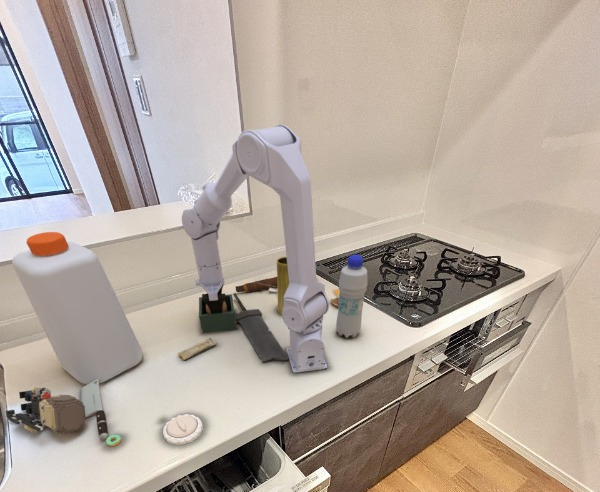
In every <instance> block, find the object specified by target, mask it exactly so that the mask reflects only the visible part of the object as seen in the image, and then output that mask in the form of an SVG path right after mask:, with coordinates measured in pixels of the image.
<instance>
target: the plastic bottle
mask: <svg viewBox="0 0 600 492" xmlns="http://www.w3.org/2000/svg"><path fill="white" fill-rule="evenodd" d="M25 243H26V245H27V247H28V249H29V250H26V251H23V252H19V253H18V254H16V255H14V257H13V258H12V260H11V264H12V267H13V270H14V271H15V273H16V275H17V277H18V279H19V281H20V284H21V286H22V288H23V290H24V293H25V295H26V296H27V298H28V300H29V302H30V304H31V306H32V308H33V311H34V313H35V315H36V317H37V318H38V321H39V323H40V325H41V327H42V329H43V331H44V333H45V335H46V338H47V339H48V341H49V344H50V345H51V348H52V350H53V352H54V354H55V356H56V358H57V360H58V362H59V364H60V366H61V368H62V369H63V370H65V371H66V372H67V373H68V374H69V375H70V376H72V377H73V378H74V379H75V380H76V381H78V382H79V383H81V384H83V385H88V384H89V383H91V382H93V381H94V380H96V379H98V381H99V384H102V383H105V382H106V381H109V380H110V379H112V378H115V377H116V376H118V375H120V374H122V373H124V372H125V371H128V370H130V369H131V368H133V367H135V366H137V365H138V364H139V363H140V362H141V361H142V359H143V357H144V352H143V349H142V346H141V345H140V342H139V341H138V339H137V337H136V334H135V332H134V330H133V328H132V326H131V324H130V322H129V319H128V317H127V315H126V313H125V311H124V309H123V308H122V307H123V306H122V305H121V303H120V301H119V299H118V296H117V294H116V292H115V290H114V288H113V285H112V284H111V282H110V280H109V278H108V276H107V274H106V271H105V269H104V267H103V265H102V263H101V261H100V259H99V257H98V255H97V254H96V253H95V252H94V251H92V249H89V248H88V247H87V248H86V247H85V246H83V245H80V244H79V243H76V242H73V241H67V239H66V237H65V235H64V234H62V233H61V232H57V231H47V232H40V233H36V234H33V235H30V236H29V237H28V238H27V239H26V242H25Z"/></svg>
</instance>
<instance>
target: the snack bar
mask: <svg viewBox="0 0 600 492" xmlns="http://www.w3.org/2000/svg"><path fill="white" fill-rule="evenodd" d="M217 344H218V342H217V341H215V340H213V339H212V337H209V338H208V339H205V340H203V341H200V342H198V343H196V344H195V345H192V346H190V347H188V348H186V349H184V350H182V351H179V352H177V355H178V356H179V357H180V358H181V360H183V361H184V360H188V359H190V358H192V357H193V356H195V355H197V354H199V353H201V352H203V351H205V350H206V349H209V348H211V347H214V346H216V345H217Z"/></svg>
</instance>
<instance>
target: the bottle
mask: <svg viewBox="0 0 600 492" xmlns="http://www.w3.org/2000/svg"><path fill="white" fill-rule="evenodd" d="M363 264H364V258H363V257H362V256H361V255H360V254H352V255H350V256H348V258H347V265H345V266H343V267H342V268H341V270H340V275H339V279H338V290H339V291H340V294H339V306H337V307H338V308H337V315H336V316H337V317H336V323H335V329H336V332H337V334H338V336H339V337H343V336H344V337H345V338H346V339H349V338H350V336H351V337H352V338H355V337H356V336H357V335H358V334H359V333H360V332H361V328H362V321H363V319H362V317H363V307H364V302H365V301H364V300H365V293H366V292H367V290H368V289H367V287H368V283H369V282H368V269H367V268H366V267H364V265H363Z"/></svg>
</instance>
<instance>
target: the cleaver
mask: <svg viewBox="0 0 600 492" xmlns="http://www.w3.org/2000/svg"><path fill="white" fill-rule="evenodd" d="M100 389H101V388H100V383H99V381H98V379H96V380H94V381H93V382H91V383H89V384H85V385H84V386H83V387H81V388H80V389H79V401H82V403H83V405H85V419H87V418H88V417H90V416H92V415H94V414H95V417H96V418H95V419H96V426H97V434H98V438H99V440H102V441H104V440H106V439H107V438H108V437H109V430H108V422H107V417H106V411H105V410H104V409H103V402H102V397H101V390H100Z"/></svg>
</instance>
